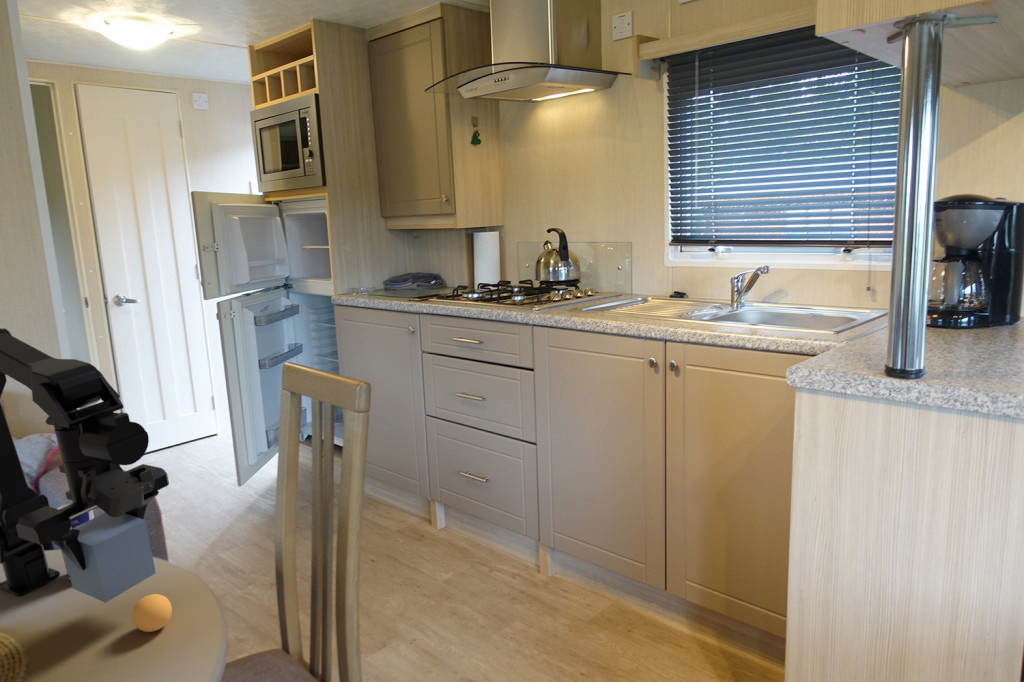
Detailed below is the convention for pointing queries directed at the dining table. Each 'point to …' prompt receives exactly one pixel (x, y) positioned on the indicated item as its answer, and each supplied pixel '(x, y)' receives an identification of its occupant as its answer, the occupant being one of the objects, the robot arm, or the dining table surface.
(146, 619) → the ball
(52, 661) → the dining table surface
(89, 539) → the matte slate cube
